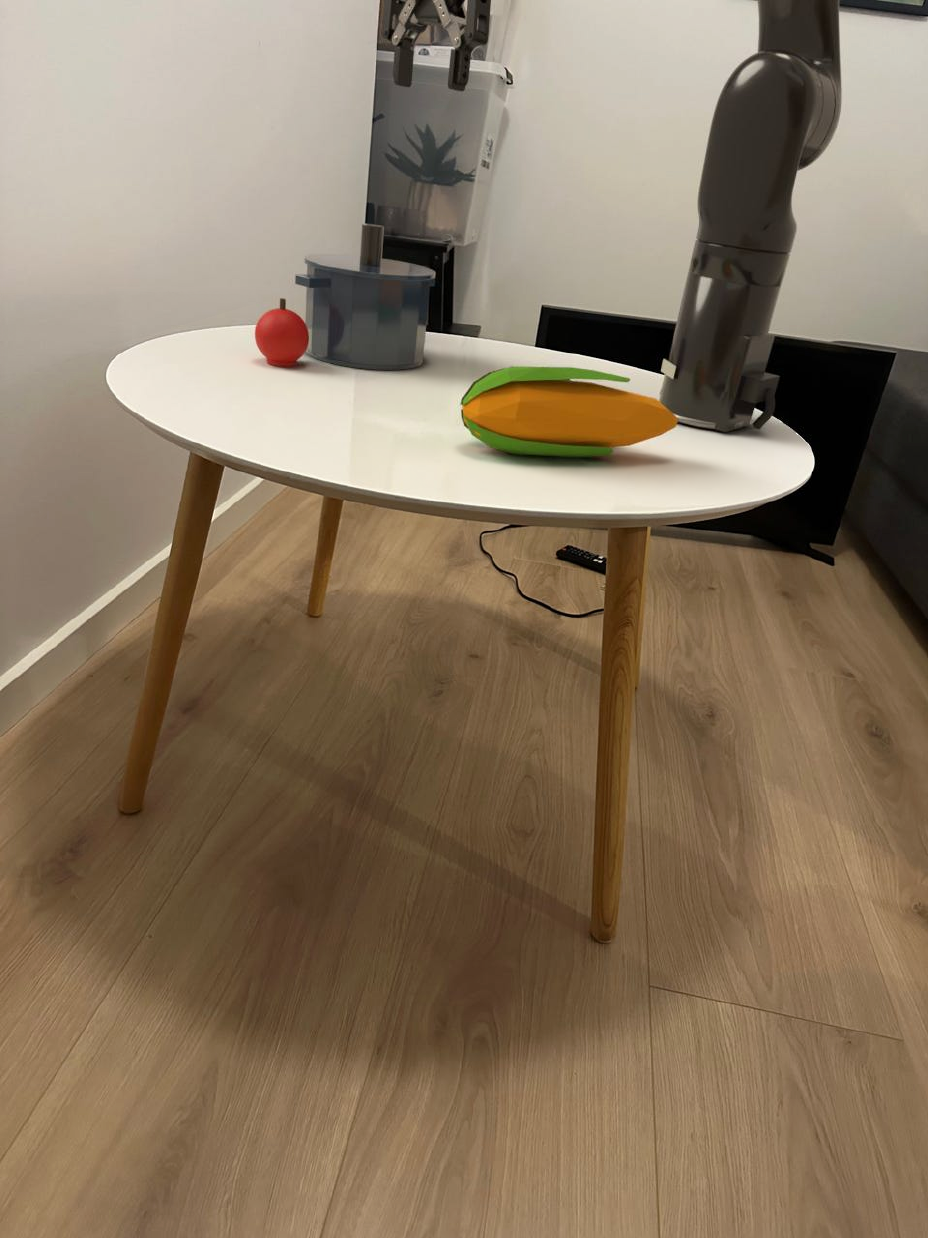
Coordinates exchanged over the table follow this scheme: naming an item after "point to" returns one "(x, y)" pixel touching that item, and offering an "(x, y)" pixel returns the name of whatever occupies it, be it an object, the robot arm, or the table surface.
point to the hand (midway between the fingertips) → (428, 88)
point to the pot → (365, 319)
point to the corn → (559, 412)
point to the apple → (281, 336)
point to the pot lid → (370, 261)
